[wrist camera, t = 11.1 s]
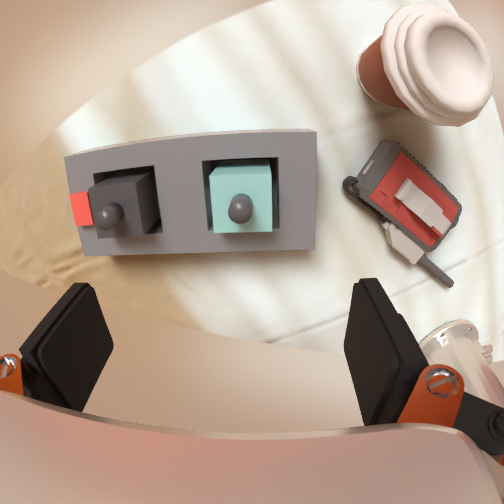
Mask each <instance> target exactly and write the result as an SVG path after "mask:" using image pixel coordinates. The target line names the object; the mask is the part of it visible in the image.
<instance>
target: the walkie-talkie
mask: <svg viewBox="0 0 504 504" xmlns="http://www.w3.org/2000/svg"><path fill="white" fill-rule="evenodd" d="M350 181H353V183H352V185H353V191H354V192H352V191H351V190H350V189H349V188H348V186H347V185H348V183H349V182H350ZM343 188H344V189H345V191H346V192H347V193H348V194H350V195H351V196H352V197H354V198H355V199H357V200H358V201H359V202H361V203H362V204H363V205H365V206H366V207H367V208H369V209H370V210H371V211H372V212H374V213H375V214H376V215H377V216H378V219H379V220H380V224H381V225H382V226H383V227H384V231H385V236H386V240H387V242H388V243H389V244H390V245H391V246H392V247H393V248H394V249H395V250H397V251H398V252H399V253H400V254H402V255H403V256H404V257H405V258H406V259H407V260H408V261H409V262H410V263H411V264H412V265H415V264H416V263H418V264H420V265H423V266H424V267H425V268H426V269H427V270H429V271H430V272H431V273H432V274H433V275H435V276H436V277H437V278H438V279H439V280H440V281H442V282H443V283H444V284H445V285H446V286H447V287H449V288H450V287H452V286H453V284H454V282H453V280H452V279H451V278H449V277H448V276H447V275H446V274H445V273H444V272H443V271H442V270H441V269H439V268H438V267H437V266H436V265H435V264H434V263H433V262H431V261H430V260H429V259H428V258H427V256H426V255H425V254H424V253H425V251H427V252H432V251H433V250H434V249H436V248H437V246H439V245H440V243H441V241H442V240H443V238H444V237H445V236H446V234H447V233H448V232H449V230H450V229H452V228H453V227H455V226H456V225H457V223H458V220H459V216H460V214H461V211H462V207H461V204H460V203H459V202H458V201H457V199H456V198H455V197H454V196H453V195H452V194H451V193H450V192H449V191H448V190H447V188H446V187H445V186H444V185H443V184H442V183H440V182H439V181H438V180H436V178H435V177H433V175H432V174H430V173H429V171H428V170H426V168H425V167H423V166H422V164H420V163H419V161H418V160H415V157H413V156H411V154H410V153H408V152H407V150H405V149H403V147H402V146H400V145H399V143H396V142H392V141H381V142H380V144H379V145H378V147H377V148H376V150H375V151H374V153H373V154H372V156H371V157H370V158H369V160H368V161H367V163H366V164H365V166H364V167H363V169H362V170H361V171H360V173H359V174H358V176H357V177H356V178H355V177H353V176H348V177H347V178H346V179H344V181H343ZM356 194H357V195H356ZM379 212H380V213H381V214H382V215H383V216H384V217H385V218H382V215H381V214H380V213H379Z"/></svg>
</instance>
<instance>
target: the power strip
mask: <svg viewBox="0 0 504 504" xmlns="http://www.w3.org/2000/svg"><path fill="white" fill-rule="evenodd" d="M263 157H276V192H277V212H272V231H271V232H231V233H214V227H213V216H212V204H211V192H210V179H209V176H210V174H211V173H212V169H211V160H220V159H238V158H263ZM64 160H65V167H66V173H67V179H68V184H69V190H70V199H71V204H72V209H73V213H74V218H75V222H76V226H77V228H78V232H79V236H80V240H81V244H82V247H83V251H84V255H85V256H109V255H143V254H178V253H212V252H247V251H282V250H314V244H315V218H316V170H317V137H316V132H315V131H312V130H309V129H263V130H239V131H222V132H209V133H197V134H187V135H178V136H169V137H161V138H154V139H146V140H140V141H133V142H127V143H121V144H115V145H109V146H104V147H99V148H94V149H89V150H85V151H82V152H79V153H76V154H72V155H69V156H66V157H64ZM152 165H154V167H148V168H140V169H132V170H124V171H121V172H119V173H117V174H116V173H115V170H120V169H127V168H135V167H143V166H152Z"/></svg>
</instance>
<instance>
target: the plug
mask: <svg viewBox="0 0 504 504" xmlns="http://www.w3.org/2000/svg"><path fill="white" fill-rule="evenodd" d="M209 179H210V192H211V204H212V216H213V227H214V233H231V232H271V231H272V176H271V169H270V164H269V159H260V160H232V161H221V162H220V163H219V164H218V166H217V167H216V168H215V169H214V171H213V172H212V173H211V174H210V176H209Z"/></svg>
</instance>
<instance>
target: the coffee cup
mask: <svg viewBox="0 0 504 504" xmlns="http://www.w3.org/2000/svg"><path fill="white" fill-rule="evenodd" d="M356 71H357V78H358V81H359V83H360V85H361V87H362V88H363V90H364V92H365V93H366V94H367V95H369V96H370V97H371V98H372V99H373V100H374V101H376V102H379V103H381V104H384V105H389V106H394V107H399V108H404V109H408V110H411V111H412V112H413V113H414V114H415V115H417V116H419V117H421V118H423V119H425V120H427V121H429V122H431V123H433V124H435V125H440V126H457V127H459V126H461V125H463V124H465V123H468V122H470V121H472V120H474V119H475V118H476V117H477V116H478V115H479V113H480V112H481V110H482V109H483V107H484V106H485V104H486V102H487V101H488V99H489V98H490V96H491V94H492V88H493V83H494V73H493V66H492V60H491V57H490V55H489V53H488V50H487V48H486V46H485V44H484V41H483V40H482V39H481V38H480V36H479V35H478V34H477V33H476V31H475V30H474V29H473V28H472V26H471V25H469V24H468V23H467V22H465V21H464V20H462V19H461V18H459V17H458V16H456V15H455V14H452V13H450V12H449V11H447V10H445V9H444V8H442V7H438V6H433V5H429V4H424V3H418V4H414V5H410V6H406V7H402V8H400V9H399V10H398V11H397V12H396V13H395V14H394V15H393V16H392V17H391V18H390V19H389V20H388V21H387V22H386V23H385V27H384V31H383V35H382V36H380V37H379V38H378V39H377V40H376V41H375V42H373V43H372V44H371V45H370V46H369V47H367V48H366V49H365V50H364V51H363V52H362V53H361V54H360V56H359V58H358V62H357V65H356Z"/></svg>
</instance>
